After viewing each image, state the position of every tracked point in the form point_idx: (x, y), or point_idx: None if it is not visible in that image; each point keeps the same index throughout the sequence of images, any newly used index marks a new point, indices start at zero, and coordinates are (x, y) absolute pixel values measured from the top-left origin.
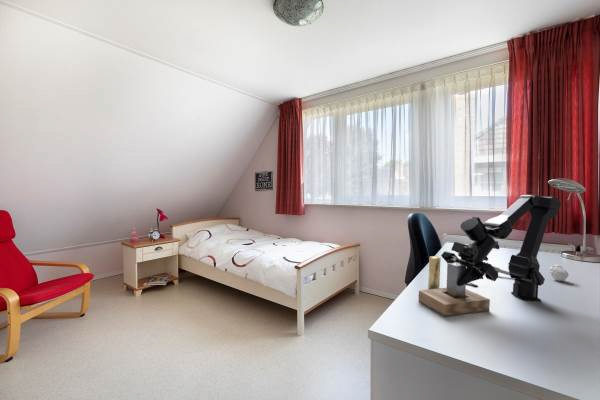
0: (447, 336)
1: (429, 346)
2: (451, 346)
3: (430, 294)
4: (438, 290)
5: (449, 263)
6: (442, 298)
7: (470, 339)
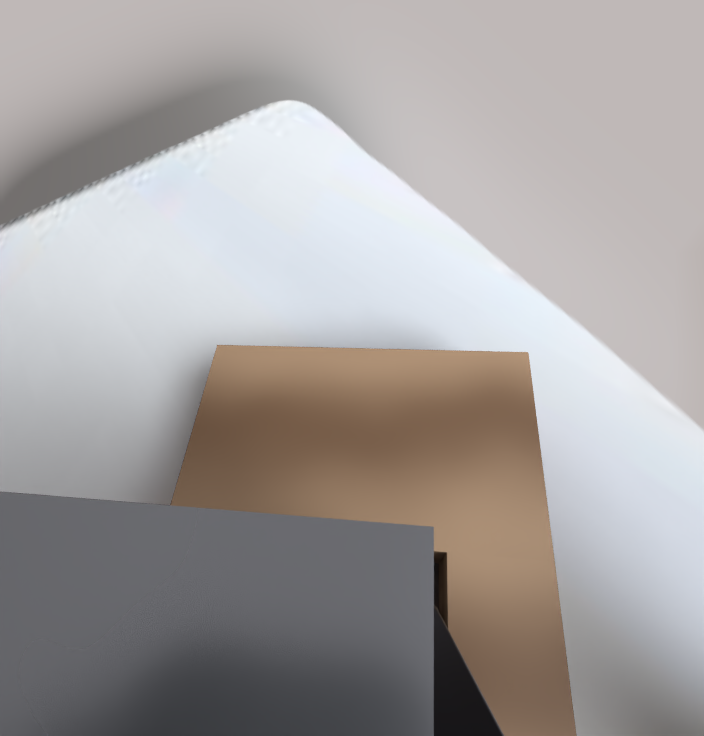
0: (129, 267)
1: (134, 179)
2: (86, 236)
3: (413, 381)
4: (493, 553)
5: (362, 582)
6: (307, 415)
7: (55, 334)
